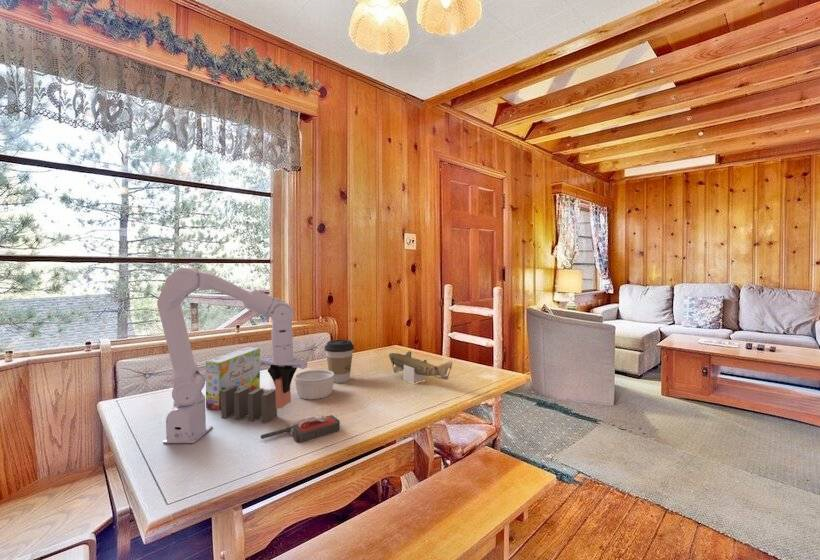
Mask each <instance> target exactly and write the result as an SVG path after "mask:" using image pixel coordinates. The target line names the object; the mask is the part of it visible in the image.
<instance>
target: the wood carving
mask: <svg viewBox="0 0 820 560" xmlns="http://www.w3.org/2000/svg"><path fill="white" fill-rule="evenodd" d="M388 357H389V359H390V360H389V361H390V364H391V366H392V370H393V373H394V374H395V373H399V372H402V371H403V381H404V380H406V381H405V382H407V381H409V382H412V383H416V382H419V381H423V380H426V381H427V379H426V377H434V378H437V379H441V380H445V381H447V380H448V379H449V377H450V373H451V370H452V367H453V362H452V361H448V362H445V363H442V364H440V365H434V364H431V363H428V361H427V360H426V359H424V360H420V359H418V358H414V357H412V351H407V352H406V354H401V353H394V352H391V353H389V354H388ZM409 382H408V383H409ZM412 383H411V384H412Z"/></svg>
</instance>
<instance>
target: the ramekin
mask: <svg viewBox="0 0 820 560" xmlns="http://www.w3.org/2000/svg"><path fill="white" fill-rule="evenodd" d="M333 379H334V373H333V372H332V371H329V370H327V369H310V370H309V369H308V370H304V371H300V372H298V373H296V374H294V381H295V387H296V392H297V393H296V394H297V396H299V398H301V399H303V400H311V401H312V399H313V400H320V398H321V399H324V398H326V397H329V396H331V394H332V393H333V389H334V388H333V387H334V386H333V385H334V383H333Z"/></svg>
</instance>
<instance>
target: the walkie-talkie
mask: <svg viewBox="0 0 820 560" xmlns="http://www.w3.org/2000/svg"><path fill="white" fill-rule="evenodd" d="M340 422H341V421H340V419H339V418H338V417H335V416H334V415H333V414H330V415H326V416H325V415H324V414H323V415H321V417H318V418H317V417H314V416H311V417H308V418H303V419H301V420H299V421H297V422H293V423H292V422H291V423H289V426H287V427H285V428H282V429H278V430H275V431H271V432H267V433H264V434H261V435H260V439H262V440H263V439H266V438H271V437H275V436H278V435H281V434H284V433H289V435H290V436H293V440H294V441H295V442H297V441H298V442H299V443H300V444H303V443H306V442H309V441H313V440H316V439H319V438H323V437H325V436H328V435H332V434H336V433H339V432H340V431H341V423H340ZM339 430H340V431H339ZM338 431H339V432H338Z"/></svg>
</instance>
